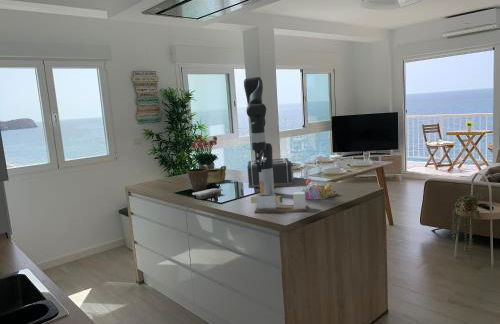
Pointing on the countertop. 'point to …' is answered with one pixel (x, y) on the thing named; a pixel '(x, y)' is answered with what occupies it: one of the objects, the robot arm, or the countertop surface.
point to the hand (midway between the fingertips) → (260, 170)
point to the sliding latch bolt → (262, 192)
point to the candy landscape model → (318, 190)
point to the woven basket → (215, 174)
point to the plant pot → (198, 178)
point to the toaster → (280, 172)
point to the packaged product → (207, 193)
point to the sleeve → (266, 202)
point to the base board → (282, 209)
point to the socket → (299, 200)
